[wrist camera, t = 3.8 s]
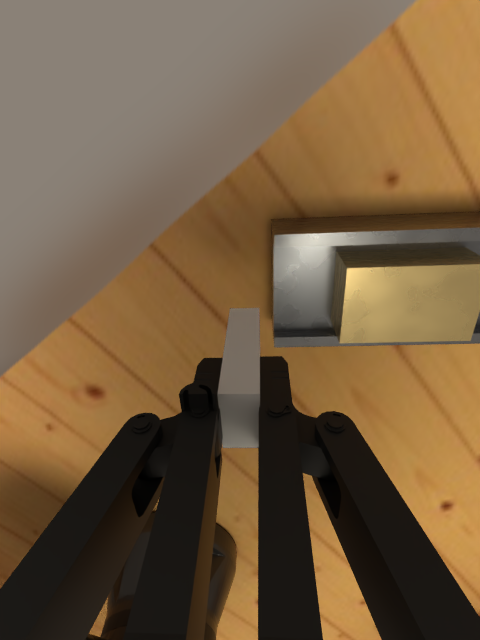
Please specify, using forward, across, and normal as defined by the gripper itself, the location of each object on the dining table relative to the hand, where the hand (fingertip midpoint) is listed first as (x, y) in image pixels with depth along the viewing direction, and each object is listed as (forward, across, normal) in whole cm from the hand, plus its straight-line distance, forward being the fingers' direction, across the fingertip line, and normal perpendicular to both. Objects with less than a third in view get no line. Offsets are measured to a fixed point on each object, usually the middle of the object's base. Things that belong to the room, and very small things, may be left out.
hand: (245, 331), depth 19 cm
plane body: (+9, +11, 0) cm, 14 cm away
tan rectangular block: (+6, +10, 0) cm, 12 cm away
